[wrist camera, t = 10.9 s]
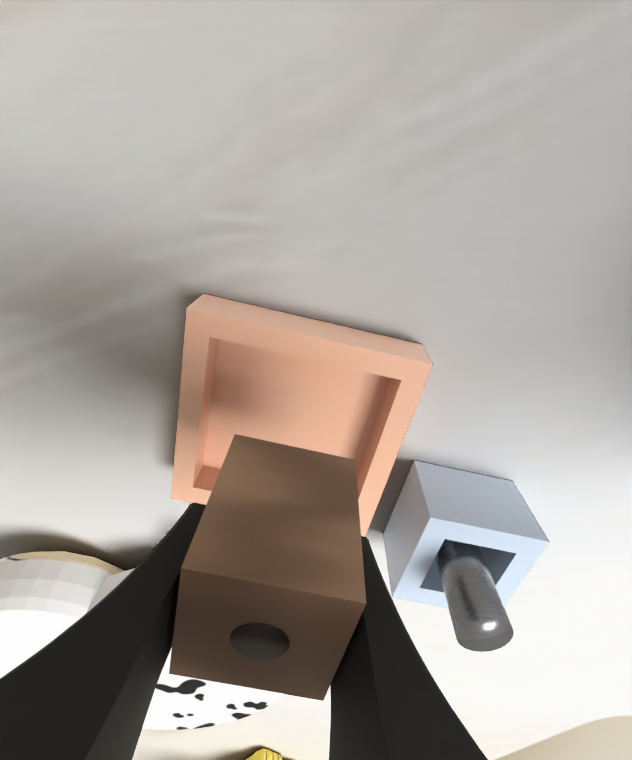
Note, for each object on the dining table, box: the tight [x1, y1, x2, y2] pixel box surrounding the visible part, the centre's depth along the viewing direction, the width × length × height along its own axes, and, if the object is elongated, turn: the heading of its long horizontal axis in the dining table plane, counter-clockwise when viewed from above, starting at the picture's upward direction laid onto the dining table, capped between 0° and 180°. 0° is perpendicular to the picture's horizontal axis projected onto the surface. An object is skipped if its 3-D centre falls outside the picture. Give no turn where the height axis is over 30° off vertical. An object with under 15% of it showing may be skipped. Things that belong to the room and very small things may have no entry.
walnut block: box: [169, 434, 366, 700], centre depth 12 cm, size 4×4×5 cm
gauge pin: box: [435, 539, 513, 651], centre depth 19 cm, size 2×2×7 cm
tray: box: [171, 294, 433, 537], centre depth 19 cm, size 10×10×2 cm
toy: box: [0, 551, 283, 730], centre depth 26 cm, size 22×5×20 cm
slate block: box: [383, 460, 549, 608], centre depth 20 cm, size 6×6×4 cm
